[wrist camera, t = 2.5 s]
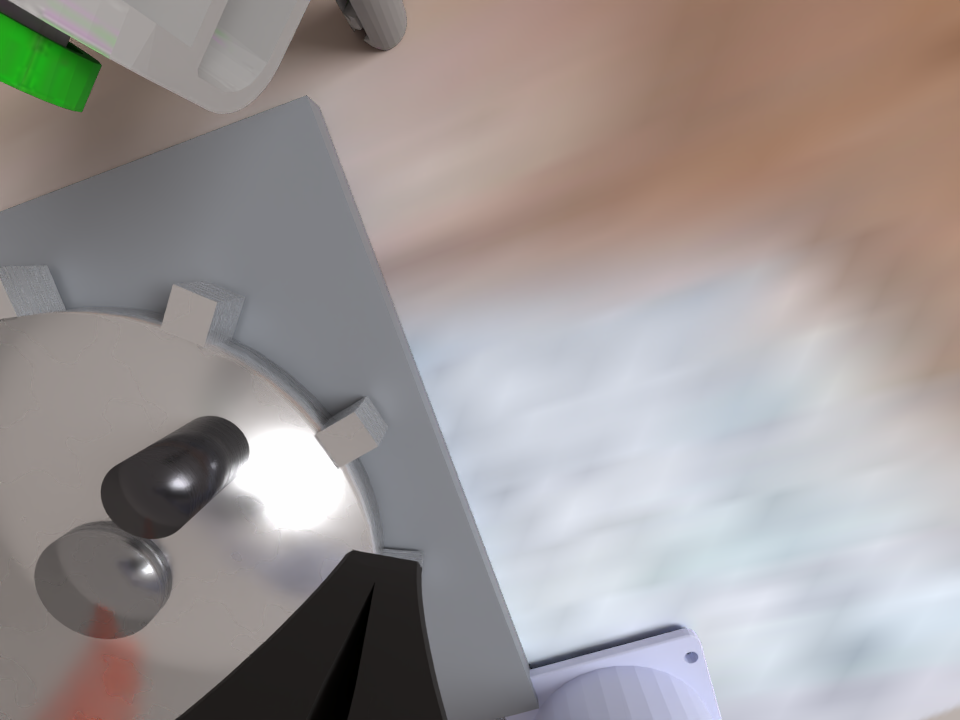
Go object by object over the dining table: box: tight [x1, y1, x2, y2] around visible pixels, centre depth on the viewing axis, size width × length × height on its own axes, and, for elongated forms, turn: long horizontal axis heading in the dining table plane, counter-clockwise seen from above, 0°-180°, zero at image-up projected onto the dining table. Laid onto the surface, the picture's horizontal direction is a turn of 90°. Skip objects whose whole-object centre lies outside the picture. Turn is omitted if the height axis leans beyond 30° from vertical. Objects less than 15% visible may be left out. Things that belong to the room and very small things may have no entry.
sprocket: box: [0, 265, 424, 720], centre depth 14 cm, size 18×19×4 cm
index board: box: [0, 95, 539, 720], centre depth 16 cm, size 22×24×2 cm
